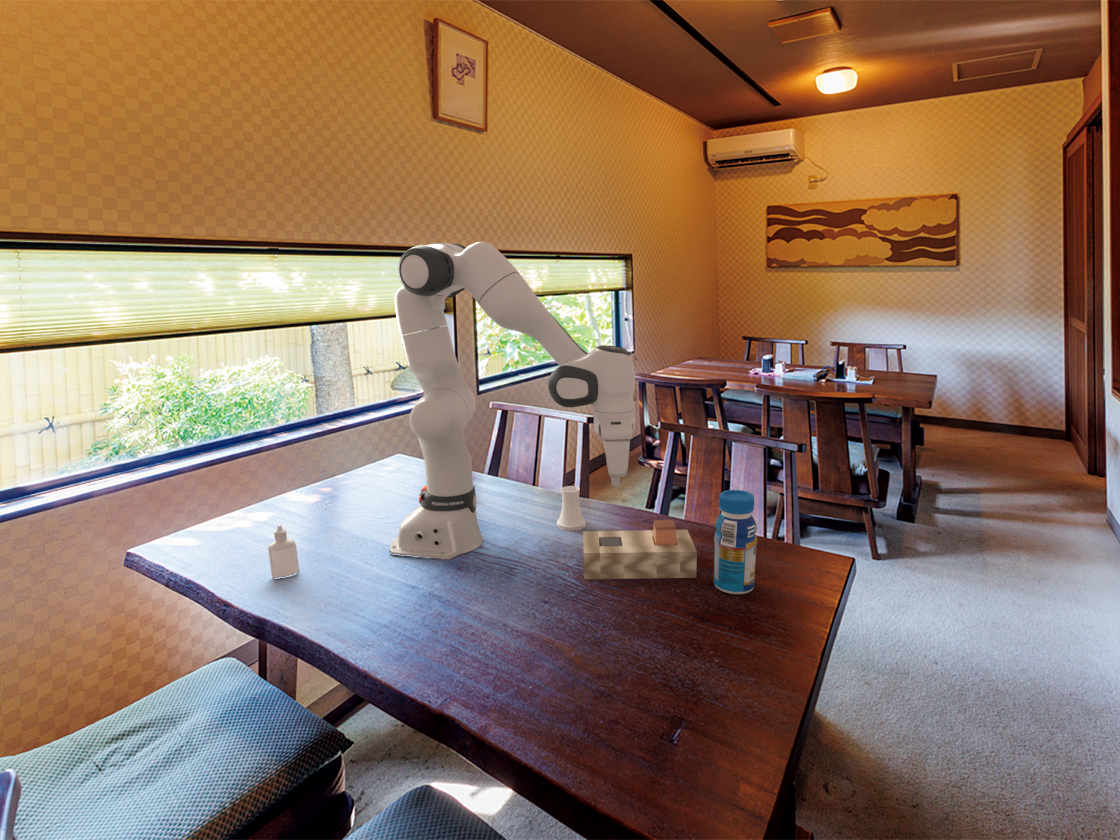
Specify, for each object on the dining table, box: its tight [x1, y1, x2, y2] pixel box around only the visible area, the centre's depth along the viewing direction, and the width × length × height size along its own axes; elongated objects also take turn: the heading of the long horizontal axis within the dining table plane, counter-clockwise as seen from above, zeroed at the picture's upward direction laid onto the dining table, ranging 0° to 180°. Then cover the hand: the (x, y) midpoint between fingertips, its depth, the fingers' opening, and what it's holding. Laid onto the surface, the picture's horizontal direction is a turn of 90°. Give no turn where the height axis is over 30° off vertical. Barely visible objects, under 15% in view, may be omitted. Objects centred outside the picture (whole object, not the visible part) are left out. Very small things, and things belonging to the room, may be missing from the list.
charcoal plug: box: [600, 537, 621, 546], centre depth 141 cm, size 4×4×6 cm
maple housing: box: [582, 529, 698, 580], centre depth 141 cm, size 24×12×6 cm, turn 88°
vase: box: [556, 485, 587, 531], centre depth 165 cm, size 8×8×10 cm
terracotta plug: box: [653, 519, 677, 545], centre depth 140 cm, size 4×4×6 cm
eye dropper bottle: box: [267, 524, 300, 579], centre depth 141 cm, size 4×6×12 cm
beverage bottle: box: [713, 489, 758, 595], centre depth 129 cm, size 8×8×20 cm
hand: (615, 484), depth 137 cm, fingers closed
